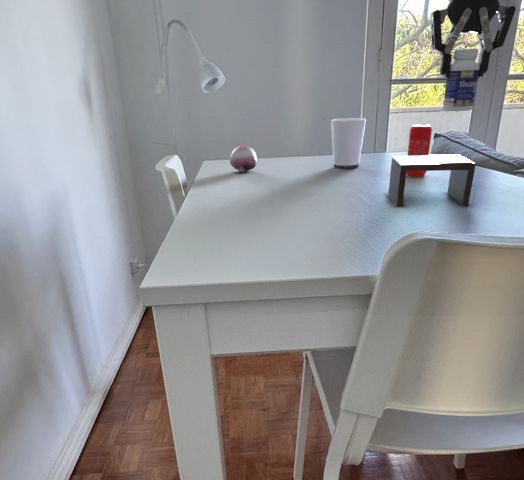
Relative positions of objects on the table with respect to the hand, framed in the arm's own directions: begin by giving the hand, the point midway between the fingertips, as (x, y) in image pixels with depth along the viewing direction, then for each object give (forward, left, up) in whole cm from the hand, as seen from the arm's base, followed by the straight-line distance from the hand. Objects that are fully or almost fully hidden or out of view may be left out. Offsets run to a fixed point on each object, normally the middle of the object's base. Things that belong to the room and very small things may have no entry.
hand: (462, 77), depth 86 cm
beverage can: (0, -30, -23) cm, 38 cm away
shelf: (+3, -2, -22) cm, 23 cm away
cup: (+17, -47, -23) cm, 55 cm away
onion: (+47, -42, -23) cm, 67 cm away
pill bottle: (0, 0, -6) cm, 6 cm away
